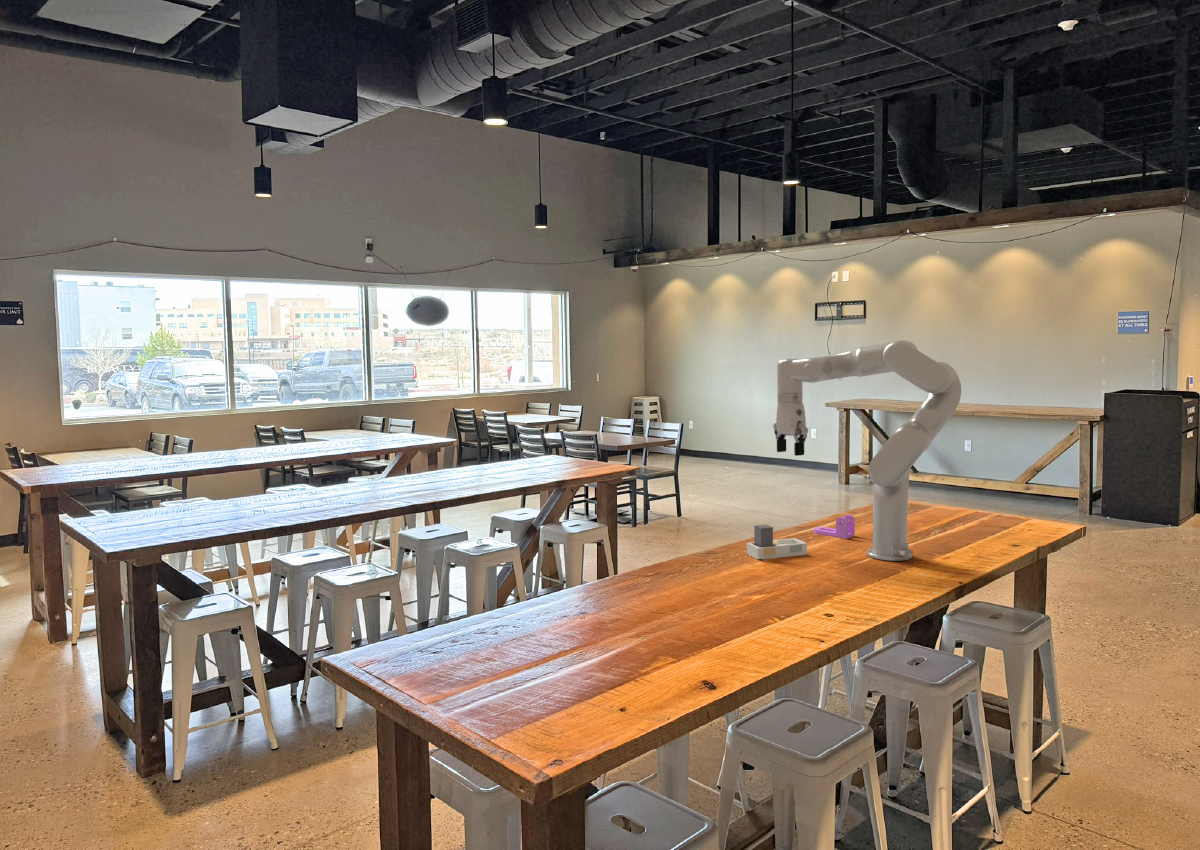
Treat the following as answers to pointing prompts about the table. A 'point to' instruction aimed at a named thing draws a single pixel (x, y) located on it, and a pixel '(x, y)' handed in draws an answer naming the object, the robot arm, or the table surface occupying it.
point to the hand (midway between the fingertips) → (790, 453)
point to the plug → (763, 535)
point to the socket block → (778, 549)
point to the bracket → (839, 528)
